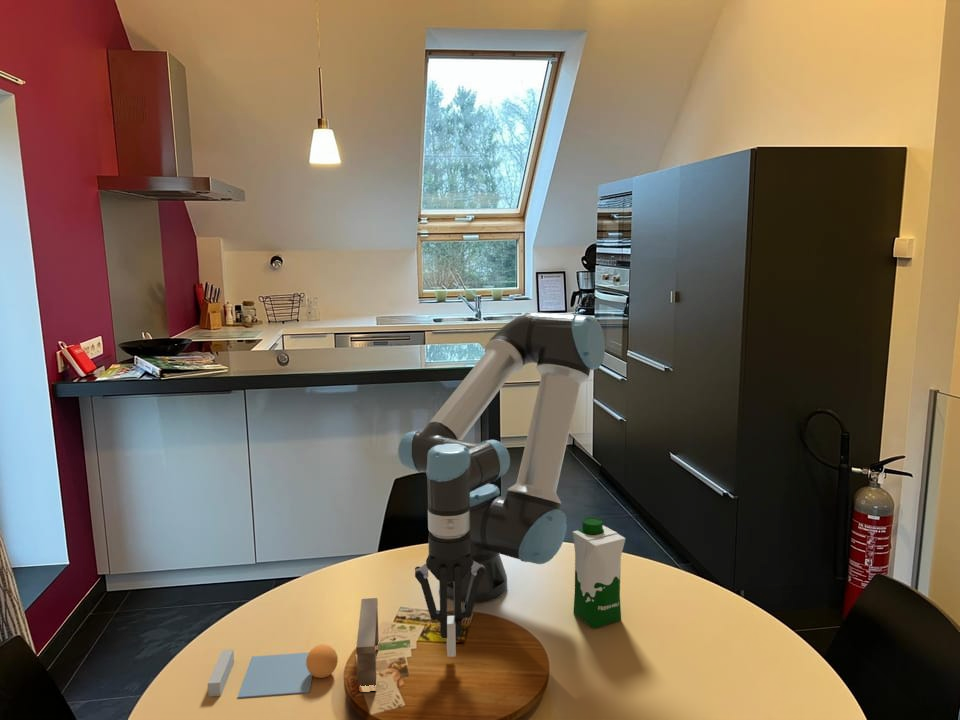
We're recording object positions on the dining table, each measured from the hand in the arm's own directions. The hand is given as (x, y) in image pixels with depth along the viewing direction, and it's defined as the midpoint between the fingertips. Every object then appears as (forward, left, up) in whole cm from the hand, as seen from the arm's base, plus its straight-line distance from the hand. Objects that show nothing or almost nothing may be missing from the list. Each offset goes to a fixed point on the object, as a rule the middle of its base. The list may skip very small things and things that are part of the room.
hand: (451, 652), depth 130 cm
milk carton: (-12, +31, -2) cm, 33 cm away
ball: (+1, -23, +1) cm, 23 cm away
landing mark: (0, -31, -2) cm, 31 cm away
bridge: (0, -15, -2) cm, 15 cm away
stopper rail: (0, -41, -2) cm, 41 cm away
